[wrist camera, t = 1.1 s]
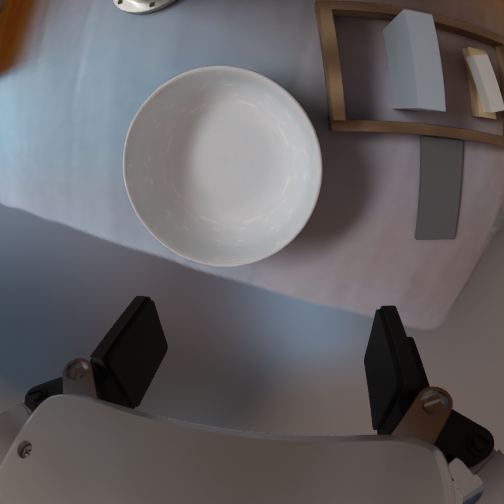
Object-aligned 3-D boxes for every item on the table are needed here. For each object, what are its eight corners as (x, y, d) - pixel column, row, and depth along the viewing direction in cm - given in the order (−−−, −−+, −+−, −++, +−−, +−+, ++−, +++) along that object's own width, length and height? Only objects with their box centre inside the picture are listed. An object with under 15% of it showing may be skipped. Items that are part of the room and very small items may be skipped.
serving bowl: (321, 75, 27) (326, 65, 21) (311, 247, 36) (312, 275, 30) (147, 83, 30) (116, 80, 24) (158, 236, 39) (134, 259, 33)
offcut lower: (460, 49, 21) (468, 46, 19) (477, 53, 20) (485, 51, 18) (470, 115, 25) (479, 116, 23) (487, 117, 24) (496, 119, 22)
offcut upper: (465, 57, 20) (472, 55, 18) (479, 55, 19) (487, 54, 18) (483, 112, 22) (491, 112, 21) (497, 109, 22) (505, 110, 20)
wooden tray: (314, 7, 23) (316, -7, 19) (499, 40, 18) (517, 36, 14) (329, 130, 29) (334, 132, 25) (508, 146, 24) (528, 152, 20)
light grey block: (382, 30, 23) (403, 9, 16) (406, 33, 22) (432, 14, 15) (392, 108, 27) (418, 107, 20) (415, 110, 26) (445, 111, 19)
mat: (420, 135, 27) (422, 136, 27) (460, 140, 26) (462, 140, 26) (414, 237, 33) (416, 239, 32) (452, 237, 32) (454, 239, 31)
